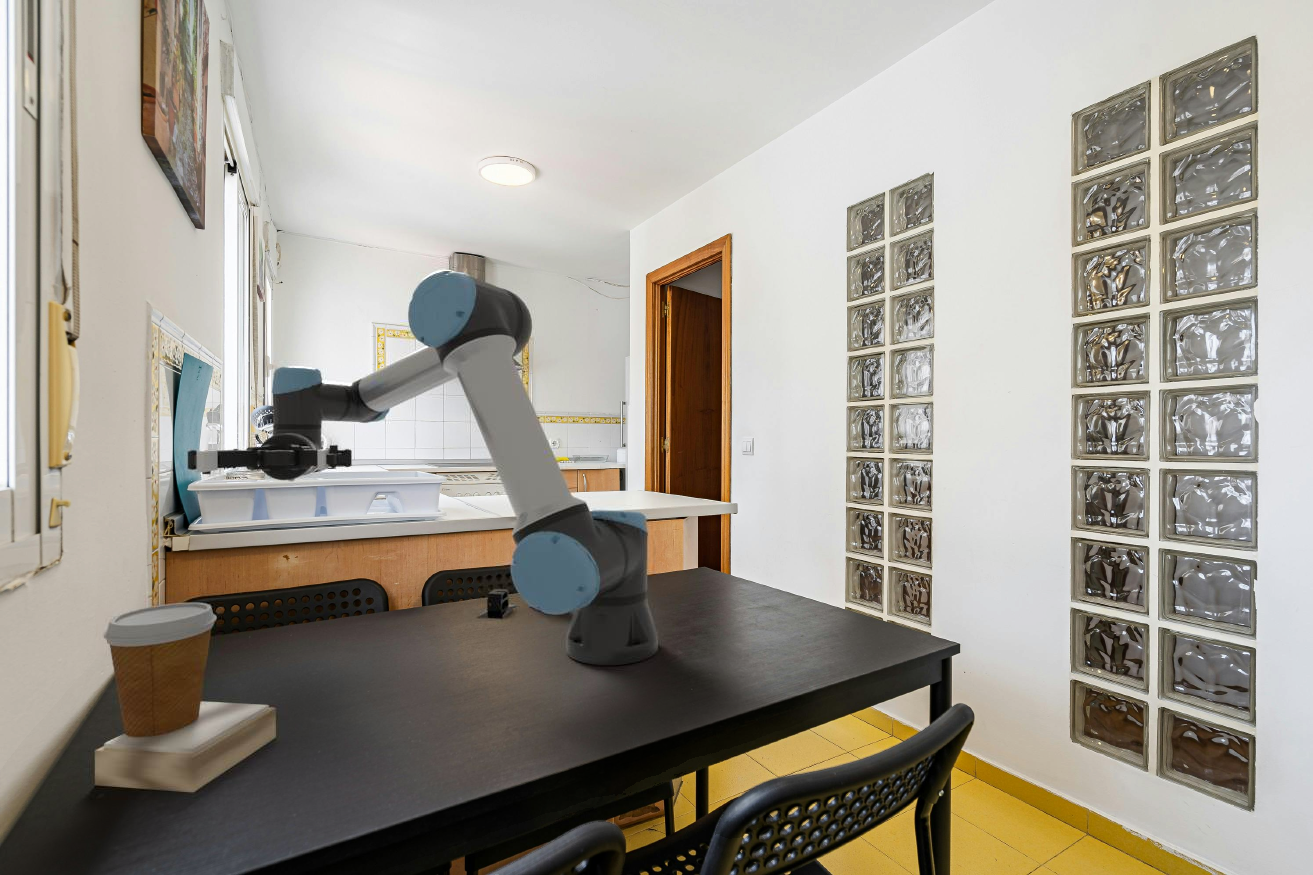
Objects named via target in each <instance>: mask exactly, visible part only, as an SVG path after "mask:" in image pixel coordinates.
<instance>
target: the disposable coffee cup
mask: <svg viewBox="0 0 1313 875" xmlns="http://www.w3.org/2000/svg"><path fill="white" fill-rule="evenodd" d="M212 608H213V607H212V606H211V604H208V603H204V602H177V603H176V602H175V603H168V604H167V603H166V604H160V605H152V606H148V607H141V608H138V609H134V610H130V611H127V612H124V613H121V614H118V615H116V616H114V617H112V618H110V619H109V623H108V625H107V630H105V631H103V632H104V633H103V638H104V639H105V640H106V643H107V644H108V645H109V649H110V655H111V659H112V660H111V661H112V666H113V671H114V672H113V673H114V678H115V683H116V684H115V685H116V691H117V695H118V701H119V708H120V713H121V714H120V715H121V718H122V719H121V720H122V725H123V730H124V733H125V734H126V735H128V736H131V737H148V736H154V735H159V734H164V733H167V732H171V731H174V730H177V729H179V728H182V727H184V726H186V725H188V724H190V723H192V722H193V721H195V720H196V719H197V718H198V716H199V710H200V703H201V701H202V696H203V689H204V682H205V676H206V667H207V662H208V661H207V660H208V656H209V648H210V640H211V635H212V634H211V633H212V628H213V627H214V624H215V622H216V621H217V615H216V614H214V613H213V609H212ZM124 733H123V734H124Z"/></svg>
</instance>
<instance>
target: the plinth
mask: <svg viewBox="0 0 1313 875" xmlns="http://www.w3.org/2000/svg"><path fill="white" fill-rule="evenodd" d="M276 716H277V707H271V706H269V704H259V703H258V704H254V703H252V704H251V703H236V702H235V703H234V702H218V701H204V700H203V701H202V700H201V703H200V710H199V716H198V718H197V719H196V720H195V721H193V722H192V723H190V724H188V725H186V726H184V727H182V728H179V729H177V730H174V731H171V732H167V733H164V734H159V735H154V736H148V737H131V736H128V735H126V734H125V733H123V734H121V735H119V736H116V737H114V738H112V739H110V740H108V741H106V742H105V743H103V746H101V747H99V748H97V749H95V750H94V786H101V787H116V788H127V789H128V788H130V789H142V790H143V789H144V790H157V791H166V792H167V791H168V792H169V791H171V792H182V793H183V792H184V793H195V792H196V791H198V790H200V789H201V788H203V786H205V785H206V784H209V783H210V782H211V781H213V780H214V779H216V778H218V777H219V776H220V775H222V774H223V773H225V772H226V771H229V769H231V768H232V767H234V766H235V765H237V764H239V763H241V761H243V760H244V759H246V758H247V757H249V756H251V755H252V754H254V753H255V752H256V751H258V750H260V749H261V748H263V747H264V746H265V745H268V744H269V743H270V742H272V741H273V740H274V739H277V731H276V730H277V729H276V728H277V726H276V724H277V723H276V722H277V717H276Z"/></svg>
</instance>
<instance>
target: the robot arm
mask: <svg viewBox="0 0 1313 875" xmlns="http://www.w3.org/2000/svg"><path fill="white" fill-rule="evenodd" d="M411 298H412V299H411V301H410V302H409V305H408V312H407V319H408V325H409V328H410V331H411V333H412V335H413V337H414V338H415V339H416V340H417V341H418V342H419V343H422V344H423V345H424V346H423V347H422V348H420V349H419V348H418V349H417V350H416V351H413V352H412V353H410V354H407V355H406V356H403V357H401V358H399V359H397V360H396V361H395V360H394V362H392V363H390V364H388V365H385V366H384V367H382V368H380V369H378V370H376V371H374V372H372V373H370V374H368V375H365V376H363V377H362V378H360V379H358V380H356V381H354V382H353V381H352V382H350V383H348V382H341V381H339V382H338V381H330V380H324V379H323V377H322V372H321V370H320V369H318V368H315V367H309V366H307V367H306V366H281V367H278V368H276V369H275V370H274V372H273V378H272V388H271V389H272V390H271V394H272V407H273V409H272V410H273V412H272V413H273V414H272V415H273V425H272V435H271V436H270V437H269V438H267V439H266V440H264V442H262V444H261V445H260V446H248V447H247V448H246V449H245V450H244V449H239V448H233V449H223V450H221V449H220V450H219V449H217V450H216V449H215V450H214V449H213V450H211V449H210V450H209V449H208V450H195V449H191V450H188V451H187V469H188V470H191V471H193V470H194V471H195V470H196V473H201V474H202V475H211V474H212V473H211V472H213V471H214V472H215V471H218V469H230V468H231V469H234V468H246V469H247V470H250V471H251V470H252V471H253V470H254V471H255V470H256V471H257V470H258V471H259V470H261V471H262V472H263V473H264V474H265V475H266V476H269V478H271V479H274V480H278V481H288V482H294V481H296V479H297V478H300V477H302V476H306V475H309V474H311V473H313V472H314V471H316V470H317V471H325V470H327V469H329V467H331V468H337V467H345V468H349V467H352V466H353V465H352V464H353V463H352V461H353V460H352V456H353V454H352V451H353V450H352V449H349V448H345V449H339V447H338V446H339V445H338V444H336V445H335V444H333V445H332V444H329V448H325V449H324V447H323V446H322V422H323V421H324V422H345V423H346V422H351V423H353V422H354V423H362V424H366V423H367V424H368V423H375V422H376V423H377V422H380V421H383V420H384V419H385V418H386V416H387V414H389V412H390V409H392V408H393V407H396V406H398V405H400V404H403V403H405V402H407V401H409V400H411V399H413V398H415V397H418V396H419V395H422V394H424V393H426V392H428V391H431V390H433V389H434V388H437V387H440V386H442V385H444V384H446V383H448V382H450V381H452V380H454V379H455V380H456V378H458V380H459V381H458V382H460V385H461V387H462V390H463V392H464V394H465V397H466V400H467V402H468V405H469V407H470V409H471V411H472V414H473V416H474V418H475V419H474V420H476V424H477V426H478V428H479V431H480V433H481V435H482V438H483V440H484V443H485V445H486V448H487V450H488V452H489V455H490V457H491V459H492V462H493V464H494V467H495V469H496V471H497V474H498V476H499V479H500V481H501V483H502V486H503V488H504V491H505V493H506V495H507V499H508V500H509V503H510V505H511V508H512V510H513V513H514V515H515V517H516V523H515V525H514V527H513V530H512V532H511V536H512V538H513V541H514V544H515V546H516V547H515V549H514V551H513V553H512V559H513V560H512V562H510V575H511V579H512V582H513V585H514V587H515V589H516V592H517V593H518V594H519V596H520V597H521V598H522V599H523V601H525V603H527V604H528V606H529V605H530V606H532V607H531V608H534V609H535V610H538V611H540V612H543V613H544V614H549V615H564V614H567V613H570V612H573V614H572V618H571V620H570V623H569V627H568V630H567V634H566V638H565V652H566V655H568V657H570V658H571V659H573V660H575V661H577V662H581V663H584V664H590V665H596V666H597V665H598V666H619V665H627V664H632V663H633V664H634V663H638V662H641V661H644V660H646V659H649V658H651V657H652V656H654V655H655V654H656V653H657V652H658V650H659V645H658V644H659V643H658V642H659V639H658V637H659V636H658V631H657V629H656V625H655V623H654V620H653V619H654V618H653V616H652V612H651V609H650V607H649V604H648V537H649V531H648V525H647V524H648V523H647V518H646V515H645V514H644V513H642V512H640V511H627V510H622V511H621V510H608V509H607V510H606V509H605V510H604V509H590V508H589V506H588V504H587V502H586V501H585V500H583V499H580V498H578V497H575V496H573V495H572V493H571V491H570V488H569V486H568V484H567V482H566V478H565V477H564V474H563V472H562V470H561V468H560V465H559V464H558V461H557V459H556V457H555V454H554V451H553V450H552V447H551V444H550V443H549V440H548V438H547V436H546V433H545V432H544V428H543V426H542V425H541V422H540V420H539V418H538V414H537V412H536V411H535V408H534V406H533V403H532V401H531V399H530V396H529V394H528V392H527V390H526V387H525V385H524V382H523V380H522V378H521V375H520V373H519V371H518V369H517V366H516V364H515V361H514V359H513V358H515V357H516V356H518V355H519V354H520V353H521V352H522V351H523V350H524V349H525V347H526V346H527V345H528V343H529V341H530V339H531V336H532V330H533V320H532V315H531V312H530V310H529V308H528V306H527V304H526V303H525V302H524V301H523V300H522V299H521V298H520V297H519V296H518V295H517V294H515V293H514V292H513V291H510V290H508V289H506V288H502V287H499V286H496V285H494V284H491V283H488V282H486V281H483V280H481V279H478V278H476V277H474V276H471V275H469V274H467V273H464V272H459V271H453V270H450V269H441V270H437V271H434V272H432V273H430V274H429V275H427V276H426V277H425V278H423V279H422V280H421V281H420V283H419V284H418V285H417V287H416V288H415V289H414V291H413V293H412V296H411Z"/></svg>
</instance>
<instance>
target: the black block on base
mask: <svg viewBox="0 0 1313 875" xmlns="http://www.w3.org/2000/svg"><path fill="white" fill-rule="evenodd" d="M509 594H510V593H509V589H505V588H503V589H502V588H500V589H499V588H494V589H493V590H491V591H490V592H488V593H487V598H486V600H487V601H486V610H484V611H482V612H481V613H480V614H478V615H477V616H476V617H477V618H476V619H497V620H498V619H500V620H503V619H505V617H507V616H508V615H509V614H508V612H510V613H512V612H513V611H514V610H513V608H515V609H517V608H518V607H517V606H515V605H516V604H509V603H510V600H509V599H510V597H509ZM516 607H517V608H516ZM512 610H513V611H512ZM511 611H512V612H511Z"/></svg>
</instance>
